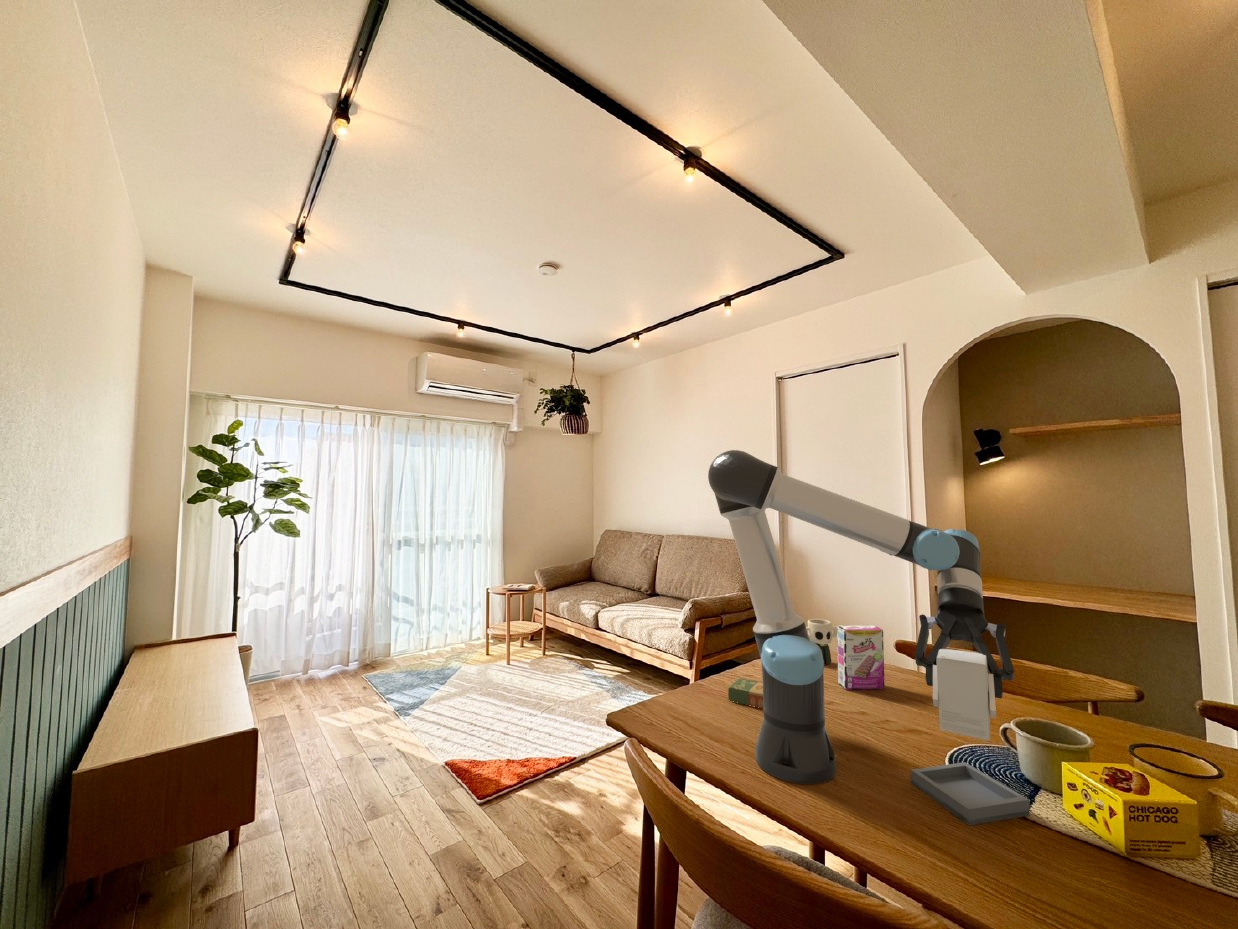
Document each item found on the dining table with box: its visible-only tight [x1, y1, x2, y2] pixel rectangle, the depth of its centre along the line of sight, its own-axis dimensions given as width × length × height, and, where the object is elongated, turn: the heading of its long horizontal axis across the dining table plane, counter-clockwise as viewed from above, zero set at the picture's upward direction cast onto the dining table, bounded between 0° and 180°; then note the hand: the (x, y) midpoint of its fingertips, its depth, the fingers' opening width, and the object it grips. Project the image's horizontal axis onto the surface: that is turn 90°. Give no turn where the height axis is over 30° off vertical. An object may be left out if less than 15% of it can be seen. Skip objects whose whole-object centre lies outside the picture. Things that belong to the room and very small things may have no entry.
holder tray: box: [910, 761, 1031, 826], centre depth 87 cm, size 12×12×2 cm
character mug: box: [806, 618, 837, 665], centre depth 159 cm, size 11×7×13 cm, turn 93°
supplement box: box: [936, 648, 991, 742], centre depth 88 cm, size 7×7×13 cm
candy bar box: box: [836, 624, 885, 691], centre depth 139 cm, size 11×5×16 cm, turn 92°
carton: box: [727, 677, 764, 710], centre depth 128 cm, size 8×16×4 cm, turn 55°
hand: (963, 708), depth 85 cm, fingers closed on supplement box, 7 cm apart
